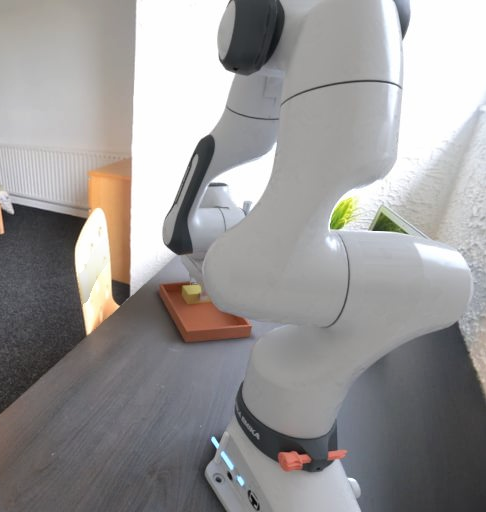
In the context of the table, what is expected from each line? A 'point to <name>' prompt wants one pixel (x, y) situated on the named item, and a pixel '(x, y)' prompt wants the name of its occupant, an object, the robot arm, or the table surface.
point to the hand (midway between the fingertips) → (197, 293)
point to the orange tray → (201, 317)
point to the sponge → (192, 294)
